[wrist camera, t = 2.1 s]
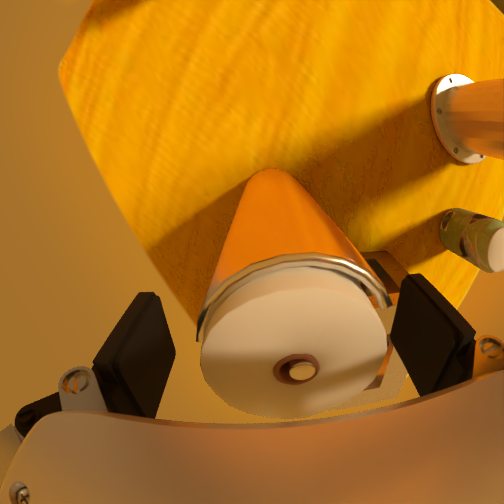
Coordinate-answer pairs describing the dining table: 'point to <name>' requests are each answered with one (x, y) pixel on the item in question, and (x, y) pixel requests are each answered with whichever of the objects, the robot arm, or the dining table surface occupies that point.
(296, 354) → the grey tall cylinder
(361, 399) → the collar stand
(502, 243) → the beverage can
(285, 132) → the dining table surface
